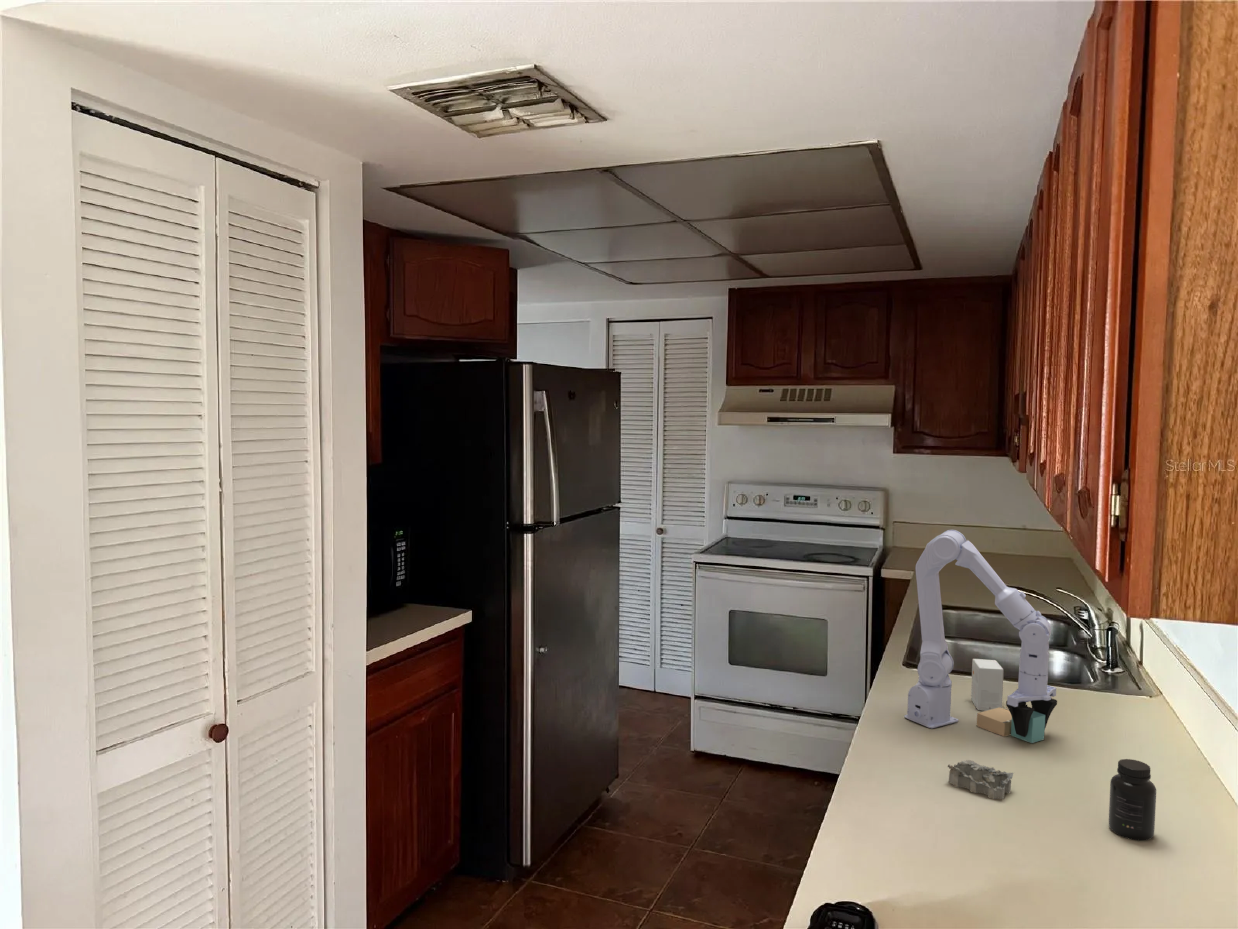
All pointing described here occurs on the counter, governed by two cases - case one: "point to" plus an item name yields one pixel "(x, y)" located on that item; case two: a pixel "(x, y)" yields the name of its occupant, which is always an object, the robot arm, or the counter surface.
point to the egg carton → (980, 779)
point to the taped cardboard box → (995, 721)
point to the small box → (987, 684)
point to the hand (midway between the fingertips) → (1030, 732)
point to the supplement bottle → (1132, 801)
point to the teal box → (1032, 728)
